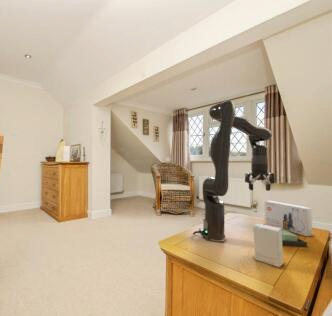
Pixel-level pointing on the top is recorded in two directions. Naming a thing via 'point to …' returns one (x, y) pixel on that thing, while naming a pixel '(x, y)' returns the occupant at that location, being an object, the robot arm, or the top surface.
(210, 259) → the top surface
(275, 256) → the cosmetic box
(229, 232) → the top surface
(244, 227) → the top surface
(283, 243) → the frame
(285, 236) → the sage pad
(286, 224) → the skincare box
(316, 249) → the top surface
